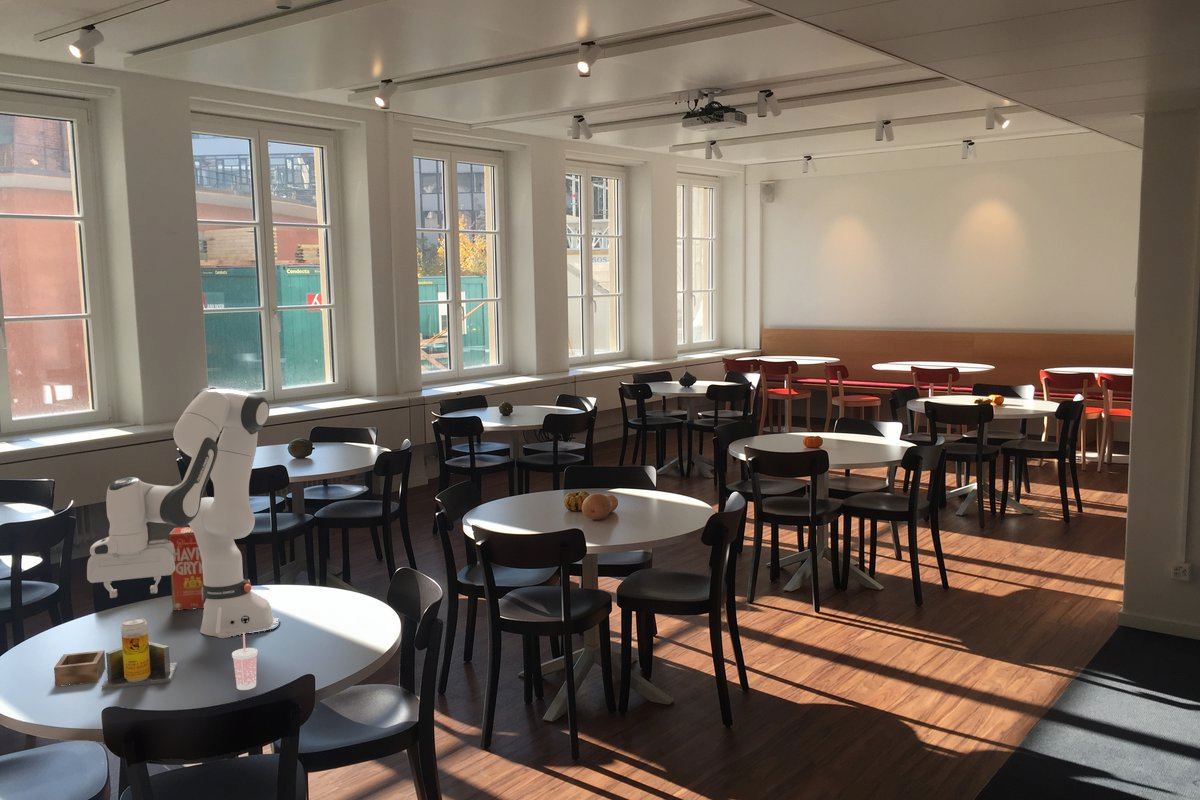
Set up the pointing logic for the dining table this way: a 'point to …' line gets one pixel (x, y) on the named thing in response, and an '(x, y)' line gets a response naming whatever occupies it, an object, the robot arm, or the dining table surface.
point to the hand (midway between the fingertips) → (134, 595)
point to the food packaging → (186, 570)
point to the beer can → (135, 649)
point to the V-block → (158, 667)
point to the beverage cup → (245, 667)
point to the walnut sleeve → (80, 668)
